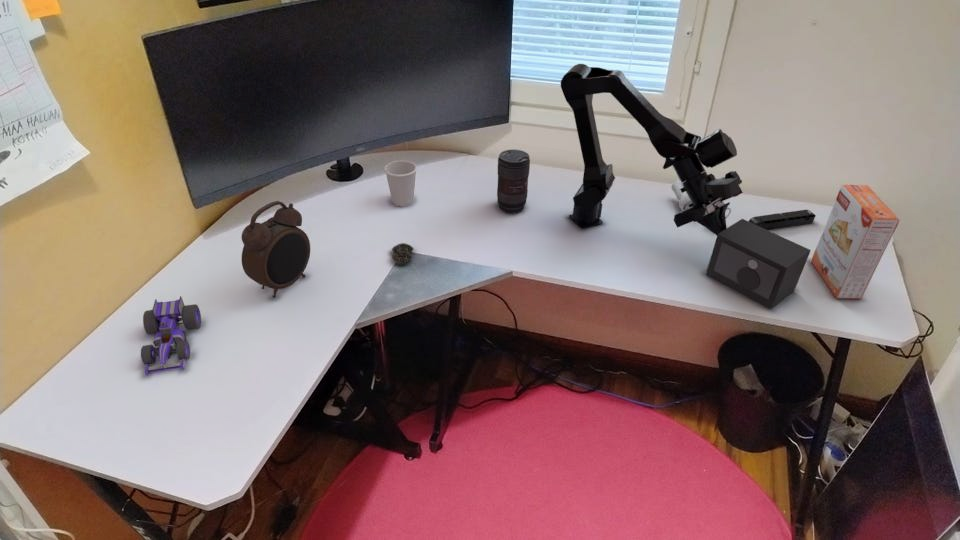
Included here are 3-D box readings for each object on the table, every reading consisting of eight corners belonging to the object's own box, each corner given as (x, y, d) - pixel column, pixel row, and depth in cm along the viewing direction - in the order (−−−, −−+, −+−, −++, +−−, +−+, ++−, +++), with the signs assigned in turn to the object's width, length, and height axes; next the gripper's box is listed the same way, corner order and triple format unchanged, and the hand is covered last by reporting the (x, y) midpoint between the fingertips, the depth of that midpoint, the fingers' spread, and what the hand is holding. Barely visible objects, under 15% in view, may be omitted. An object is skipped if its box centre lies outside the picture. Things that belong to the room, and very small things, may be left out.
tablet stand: (752, 232, 155) (755, 222, 153) (746, 226, 157) (749, 216, 155) (813, 223, 158) (817, 213, 157) (806, 218, 160) (810, 208, 159)
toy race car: (137, 377, 113) (125, 351, 110) (153, 324, 125) (142, 299, 121) (192, 369, 115) (183, 343, 111) (202, 317, 127) (194, 292, 123)
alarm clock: (272, 308, 129) (252, 228, 117) (248, 296, 132) (226, 217, 120) (320, 273, 139) (307, 196, 127) (297, 262, 142) (282, 186, 130)
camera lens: (532, 204, 164) (536, 153, 155) (517, 218, 159) (520, 165, 150) (506, 196, 168) (508, 145, 159) (490, 209, 162) (492, 157, 153)
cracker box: (808, 261, 145) (840, 183, 133) (834, 262, 145) (869, 183, 132) (833, 299, 134) (871, 217, 121) (861, 300, 134) (902, 218, 121)
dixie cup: (401, 190, 170) (399, 157, 164) (425, 199, 166) (423, 166, 160) (380, 202, 164) (377, 168, 158) (404, 212, 161) (401, 178, 155)
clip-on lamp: (732, 234, 159) (700, 188, 171) (744, 216, 155) (710, 170, 166) (693, 236, 156) (663, 189, 167) (703, 218, 151) (672, 171, 163)
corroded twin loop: (390, 266, 141) (390, 262, 141) (392, 246, 148) (392, 243, 147) (412, 266, 142) (412, 262, 141) (413, 246, 148) (413, 242, 147)
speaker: (704, 275, 140) (716, 234, 134) (729, 257, 146) (742, 218, 139) (769, 310, 131) (785, 269, 124) (794, 290, 136) (811, 250, 130)
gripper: (696, 176, 127) (731, 243, 127) (745, 150, 137) (777, 213, 137) (658, 195, 137) (690, 257, 137) (706, 170, 147) (736, 228, 146)
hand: (725, 238), depth 139 cm, fingers closed, pressing on speaker
